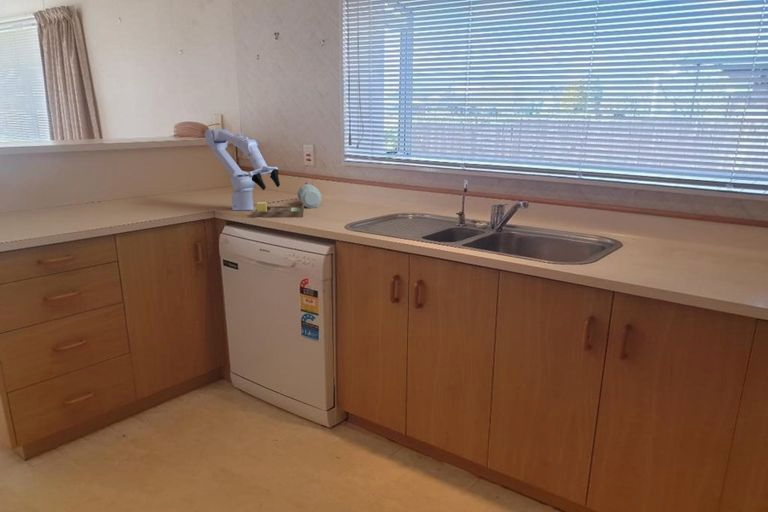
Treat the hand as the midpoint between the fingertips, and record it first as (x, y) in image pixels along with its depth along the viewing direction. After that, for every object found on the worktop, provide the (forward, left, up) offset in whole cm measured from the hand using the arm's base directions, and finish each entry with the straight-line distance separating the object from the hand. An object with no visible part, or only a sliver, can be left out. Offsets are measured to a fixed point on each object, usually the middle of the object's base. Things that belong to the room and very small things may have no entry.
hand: (271, 187), depth 244 cm
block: (-5, -3, -10) cm, 12 cm away
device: (+15, +29, -13) cm, 35 cm away
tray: (+3, 0, -12) cm, 13 cm away
